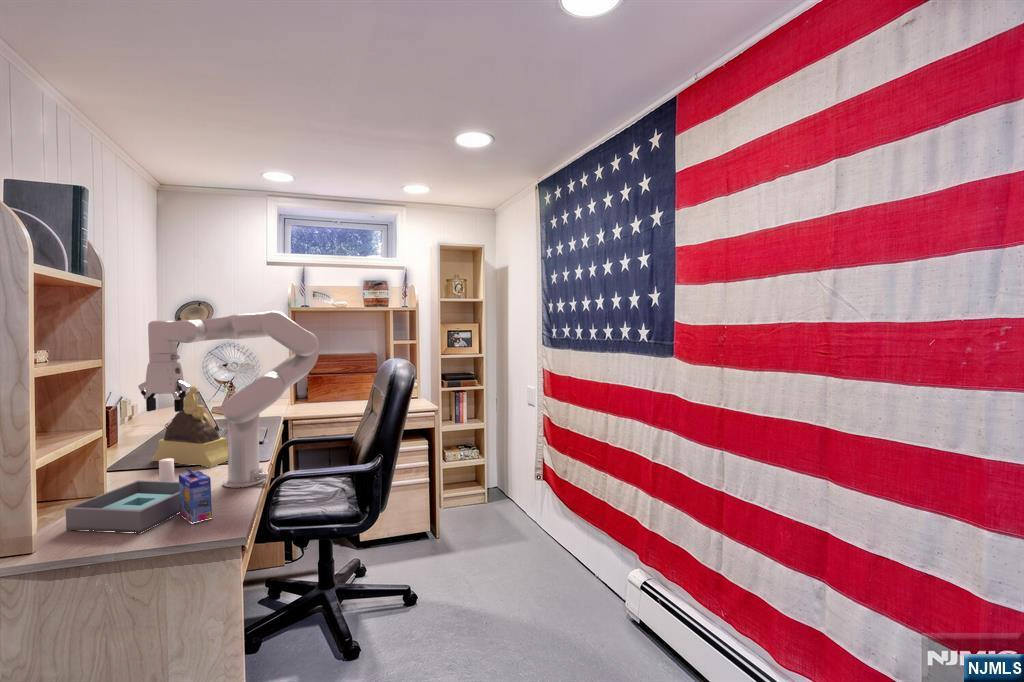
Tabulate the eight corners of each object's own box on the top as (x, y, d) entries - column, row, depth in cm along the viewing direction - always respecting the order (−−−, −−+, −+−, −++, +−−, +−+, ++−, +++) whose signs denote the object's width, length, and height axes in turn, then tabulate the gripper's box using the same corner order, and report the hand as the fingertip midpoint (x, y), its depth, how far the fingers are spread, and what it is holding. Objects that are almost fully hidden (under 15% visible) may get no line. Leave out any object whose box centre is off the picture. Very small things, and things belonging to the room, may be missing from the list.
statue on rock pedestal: (238, 458, 199) (237, 384, 198) (211, 468, 186) (210, 389, 185) (181, 453, 206) (180, 381, 204) (152, 461, 193) (150, 385, 192)
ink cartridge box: (178, 516, 141) (177, 466, 140) (200, 510, 145) (199, 462, 145) (190, 525, 135) (189, 473, 134) (213, 519, 139) (212, 468, 138)
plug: (177, 488, 164) (176, 458, 163) (168, 492, 160) (167, 462, 159) (166, 487, 164) (165, 458, 164) (156, 492, 160) (155, 461, 160)
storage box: (202, 501, 152) (202, 482, 152) (140, 534, 129) (140, 511, 129) (138, 499, 154) (137, 480, 153) (66, 530, 131) (65, 508, 130)
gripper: (196, 357, 163) (198, 409, 164) (148, 357, 165) (150, 408, 165) (179, 359, 156) (181, 413, 156) (128, 359, 157) (130, 412, 158)
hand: (165, 410), depth 161 cm, fingers open, 9 cm apart
